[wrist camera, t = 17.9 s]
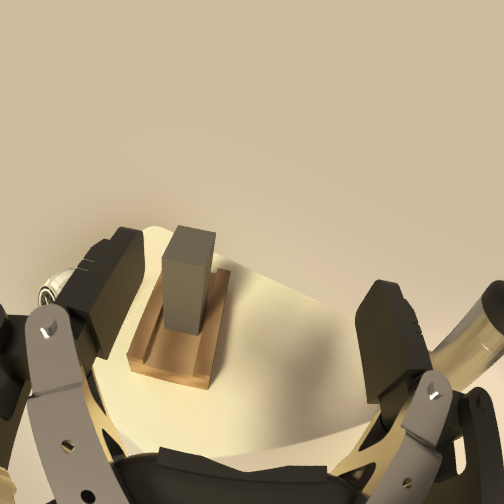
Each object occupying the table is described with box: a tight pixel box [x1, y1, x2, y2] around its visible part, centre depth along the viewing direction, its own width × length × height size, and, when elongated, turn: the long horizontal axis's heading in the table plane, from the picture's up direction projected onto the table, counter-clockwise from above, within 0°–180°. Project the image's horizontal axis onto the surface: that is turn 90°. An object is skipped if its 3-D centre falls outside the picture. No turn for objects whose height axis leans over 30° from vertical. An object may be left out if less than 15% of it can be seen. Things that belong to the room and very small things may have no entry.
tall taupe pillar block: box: [162, 225, 216, 336], centre depth 34 cm, size 5×6×12 cm
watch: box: [38, 268, 75, 307], centre depth 31 cm, size 6×8×11 cm
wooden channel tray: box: [127, 269, 231, 390], centre depth 39 cm, size 10×18×4 cm, turn 176°
